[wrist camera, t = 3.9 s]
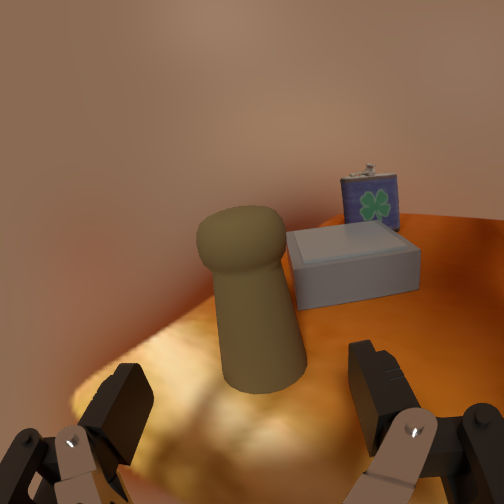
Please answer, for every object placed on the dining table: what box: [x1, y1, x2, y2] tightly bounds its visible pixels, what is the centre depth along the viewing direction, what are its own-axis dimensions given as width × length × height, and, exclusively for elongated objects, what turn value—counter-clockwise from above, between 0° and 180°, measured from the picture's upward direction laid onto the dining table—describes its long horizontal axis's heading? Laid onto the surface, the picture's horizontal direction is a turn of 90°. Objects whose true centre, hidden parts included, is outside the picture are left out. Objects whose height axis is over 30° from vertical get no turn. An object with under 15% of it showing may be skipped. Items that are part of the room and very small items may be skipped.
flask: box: [340, 163, 400, 232], centre depth 42 cm, size 9×3×11 cm, turn 92°
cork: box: [196, 206, 307, 394], centre depth 19 cm, size 6×6×11 cm
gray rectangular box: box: [286, 220, 421, 310], centre depth 31 cm, size 12×12×4 cm
